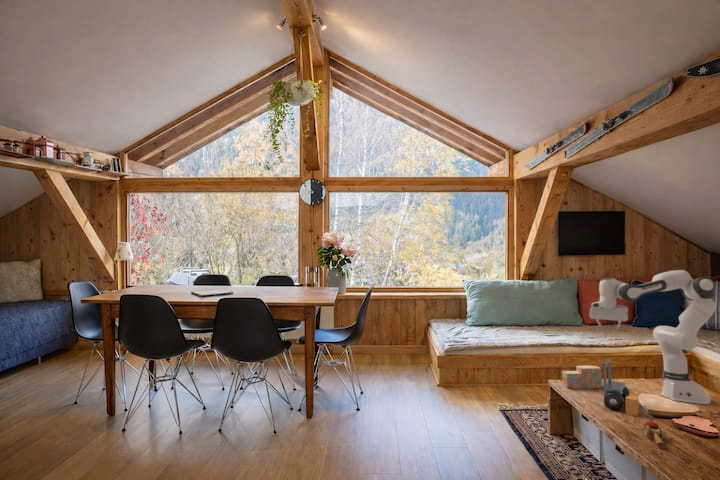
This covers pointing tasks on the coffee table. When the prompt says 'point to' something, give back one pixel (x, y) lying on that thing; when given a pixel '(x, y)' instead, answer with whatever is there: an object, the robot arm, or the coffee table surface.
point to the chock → (632, 405)
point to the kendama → (655, 432)
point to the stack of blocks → (582, 377)
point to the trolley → (613, 390)
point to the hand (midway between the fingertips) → (608, 327)
